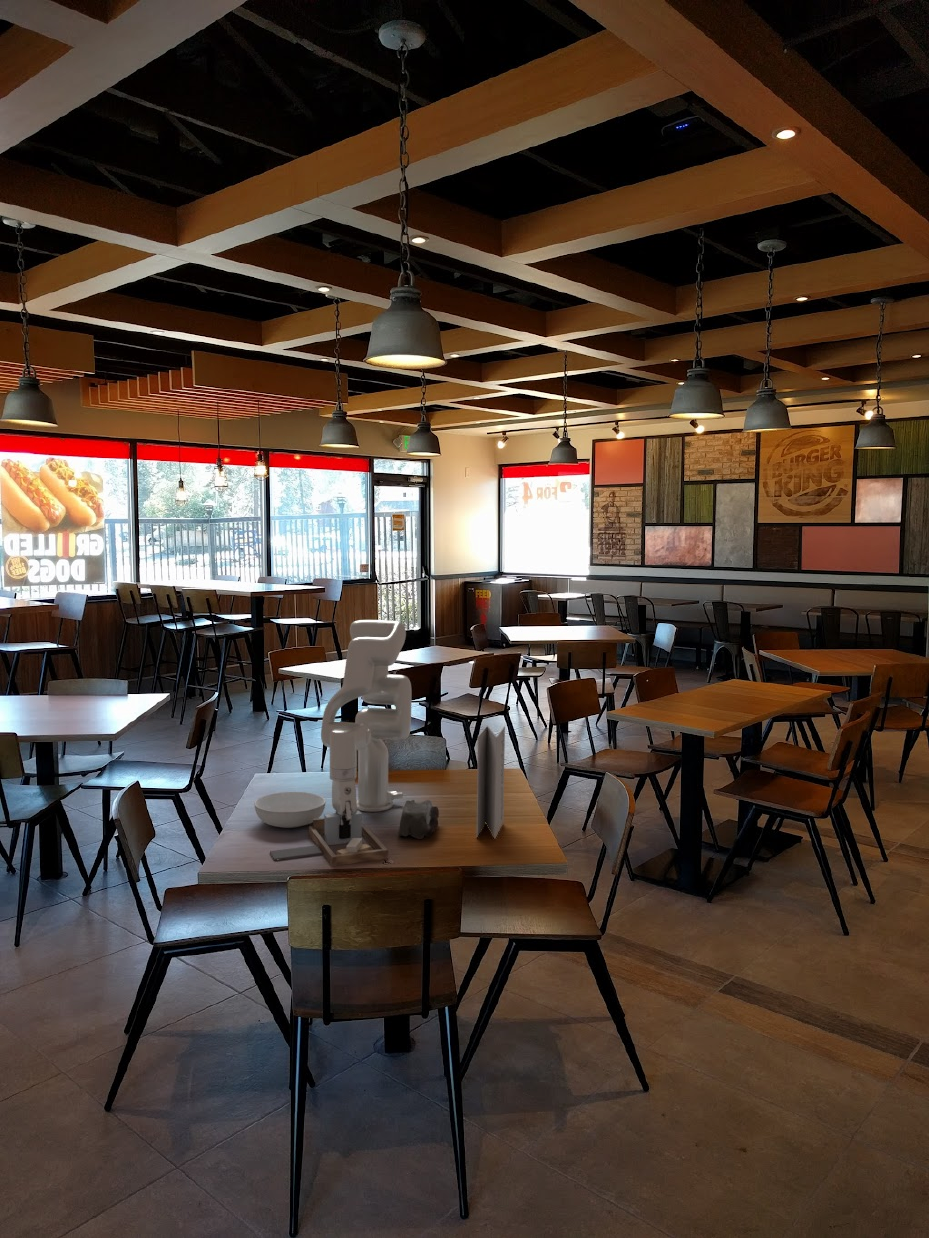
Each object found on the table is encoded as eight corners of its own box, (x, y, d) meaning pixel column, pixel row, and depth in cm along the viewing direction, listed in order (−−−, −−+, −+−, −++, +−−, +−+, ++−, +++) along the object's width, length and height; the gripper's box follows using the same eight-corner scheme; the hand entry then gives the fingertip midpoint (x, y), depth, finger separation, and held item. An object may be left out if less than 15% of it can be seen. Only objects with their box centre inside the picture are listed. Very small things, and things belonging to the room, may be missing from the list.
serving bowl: (330, 831, 265) (330, 808, 264) (256, 837, 259) (256, 814, 258) (320, 810, 285) (320, 788, 284) (252, 815, 279) (252, 793, 278)
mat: (317, 847, 252) (317, 845, 252) (322, 854, 246) (322, 852, 246) (270, 853, 247) (270, 851, 246) (274, 860, 241) (274, 858, 241)
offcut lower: (364, 851, 250) (364, 843, 250) (370, 854, 248) (370, 846, 248) (336, 858, 245) (336, 850, 244) (342, 861, 242) (342, 853, 242)
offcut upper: (353, 844, 250) (352, 837, 249) (362, 844, 249) (362, 838, 249) (346, 852, 243) (346, 846, 242) (355, 853, 242) (355, 846, 242)
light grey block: (358, 837, 260) (358, 810, 259) (361, 840, 257) (361, 813, 256) (324, 841, 256) (324, 814, 255) (327, 845, 253) (327, 817, 252)
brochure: (495, 840, 259) (497, 737, 256) (476, 838, 260) (477, 736, 257) (503, 824, 273) (504, 726, 270) (485, 822, 274) (486, 725, 271)
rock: (436, 843, 256) (436, 816, 255) (396, 842, 256) (397, 815, 256) (440, 822, 274) (440, 797, 274) (402, 822, 275) (403, 796, 274)
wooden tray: (360, 828, 268) (360, 813, 267) (388, 858, 244) (388, 842, 243) (308, 834, 262) (308, 819, 261) (332, 866, 238) (332, 849, 237)
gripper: (364, 778, 248) (364, 843, 250) (348, 764, 263) (348, 825, 265) (337, 781, 246) (337, 847, 247) (322, 766, 261) (323, 828, 262)
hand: (343, 835), depth 256 cm, fingers closed on light grey block, 3 cm apart
